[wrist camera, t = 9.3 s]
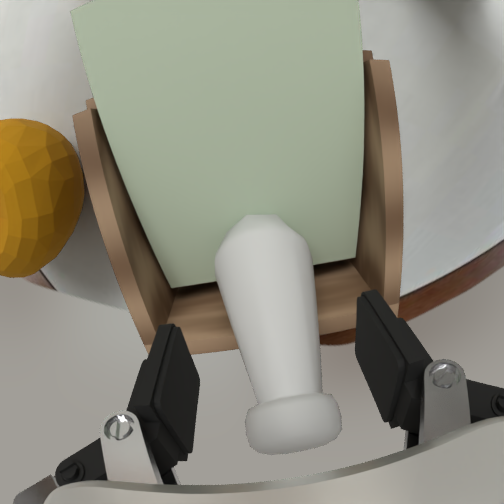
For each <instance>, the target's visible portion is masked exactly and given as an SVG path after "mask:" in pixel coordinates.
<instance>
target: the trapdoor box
mask: <svg viewBox="0 0 504 504" xmlns="http://www.w3.org/2000/svg"><path fill="white" fill-rule="evenodd" d="M363 70H364V155H363V177H362V193H361V206H360V218H359V228H358V238H357V247H356V256H355V258H349V259H344V260H338V261H333V262H327V263H322V264H316V265H313V270H314V280H315V290H316V301H317V313H318V326H319V335H324V334H329V333H333V332H338V331H343V330H347V329H352V328H356V310H357V297H360V296H361V293H362V292H365V291H370V290H374V289H376V290H377V291H378V292H379V293H380V295H381V296H382V297H383V299H384V300H385V301H386V303H387V304H388V305H389V307H390V308H391V310H392V311H393V312H394V314H395V315H396V317H397V316H398V307H399V297H400V286H401V272H402V254H403V176H402V158H401V144H400V133H399V123H398V114H397V106H396V99H395V92H394V86H393V79H392V73H391V68H390V62H389V60H373V56H372V51H368V50H363ZM86 105H87V110H85V111H82V112H80V113H78V114H75V115H73V116H72V117H73V122H74V128H75V133H76V138H77V143H78V148H79V153H80V157H81V162H82V166H83V170H84V174H85V178H86V182H87V186H88V190H89V194H90V198H91V201H92V205H93V208H94V212H95V215H96V219H97V222H98V225H99V228H100V232H101V235H102V238H103V241H104V244H105V247H106V250H107V253H108V256H109V259H110V262H111V265H112V267H113V270H114V273H115V276H116V278H117V281H118V284H119V286H120V289H121V291H122V294H123V297H124V299H125V302H126V304H127V307H128V309H129V311H130V314H131V316H132V319H133V321H134V323H135V325H136V327H137V330H138V332H139V334H140V337H141V339H142V341H143V344H144V346H145V348H146V350H147V352H148V354H149V352H150V349H151V346H152V343H153V340H154V338H155V335H156V332H157V329H158V326H159V325H163V324H172V323H173V324H175V326H176V327H180V328H181V330H182V333H183V336H184V338H185V341H186V344H187V346H188V349H189V352H190V354H191V355H192V354H202V353H210V352H219V351H227V350H234V349H239V347H238V344H237V341H236V338H235V335H234V332H233V329H232V326H231V323H230V320H229V317H228V314H227V311H226V308H225V305H224V302H223V299H222V296H221V293H220V290H219V286H218V283H217V281H214V282H208V283H202V284H195V285H189V286H182V287H176V288H171V287H170V285H169V283H168V280H167V278H166V276H165V274H164V272H163V270H162V268H161V266H160V264H159V262H158V260H157V257H156V255H155V253H154V251H153V249H152V247H151V244H150V242H149V240H148V238H147V236H146V233H145V231H144V229H143V227H142V224H141V222H140V220H139V217H138V215H137V213H136V210H135V208H134V206H133V203H132V201H131V198H130V196H129V193H128V191H127V189H126V186H125V184H124V181H123V179H122V176H121V173H120V171H119V168H118V166H117V163H116V160H115V158H114V155H113V152H112V150H111V147H110V144H109V141H108V139H107V136H106V133H105V130H104V127H103V124H102V121H101V118H100V116H99V113H98V109H97V106H96V103H95V100H94V98H91V99H89V100H86Z"/></svg>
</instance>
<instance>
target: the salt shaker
mask: <svg viewBox="0 0 504 504" xmlns="http://www.w3.org/2000/svg"><path fill="white" fill-rule="evenodd" d="M215 277H216V280H217V283H218V286H219V290H220V293H221V296H222V299H223V302H224V305H225V308H226V311H227V314H228V317H229V320H230V323H231V326H232V329H233V332H234V335H235V338H236V341H237V344H238V347H239V350H240V353H241V355H242V358H243V361H244V364H245V367H246V370H247V373H248V376H249V378H250V381H251V384H252V387H253V390H254V393H255V396H256V399H257V402H258V404H257V405H256V406H254V407H252V408H251V409H249V410H248V412H247V415H246V420H245V425H246V435H247V438H248V442H249V444H250V447H251V448H253V449H254V450H255V451H257V452H259V453H262V454H269V455H275V454H288V453H294V452H299V451H304V450H308V449H312V448H316V447H320V446H323V445H325V444H327V443H329V442H331V441H333V440H334V439H336V438H337V436H338V435H339V433H340V432H341V430H342V425H341V424H342V422H341V413H340V410H339V406H338V404H337V402H336V400H335V399H334V397H333V396H332V394H322V373H321V355H320V340H319V326H318V313H317V301H316V290H315V280H314V270H313V260H312V256H311V253H310V250H309V247H308V244H307V242H306V241H305V239H304V238H303V237H302V236H301V235H299V234H298V233H297V232H295V231H294V230H292V229H291V228H290V227H288V226H287V225H286V224H285V223H284V222H283V221H282V220H281V219H280V218H279V217H278V216H277V215H276V214H268V215H246V216H245V217H243V218H242V219H241V220H240V221H239V222H238V223H237V224H235V225H234V226H233V227H232V228H231V229H230V230H229V231H227V233H226V235H225V237H224V239H223V241H222V243H221V245H220V247H219V249H218V251H217V253H216V256H215Z"/></svg>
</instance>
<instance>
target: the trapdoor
mask: <svg viewBox="0 0 504 504" xmlns="http://www.w3.org/2000/svg"><path fill="white" fill-rule="evenodd" d="M71 16H72V20H73V25H74V29H75V33H76V37H77V41H78V45H79V49H80V53H81V56H82V60H83V63H84V67H85V71H86V74H87V77H88V81H89V84H90V87H91V91H92V94H93V97H94V100H95V103H96V106H97V109H98V113H99V116H100V118H101V121H102V124H103V127H104V130H105V133H106V136H107V139H108V141H109V144H110V147H111V150H112V152H113V155H114V158H115V160H116V163H117V166H118V168H119V171H120V173H121V176H122V179H123V181H124V184H125V186H126V189H127V191H128V193H129V196H130V198H131V201H132V203H133V206H134V208H135V210H136V213H137V215H138V217H139V220H140V222H141V224H142V227H143V229H144V231H145V233H146V236H147V238H148V240H149V242H150V244H151V247H152V249H153V251H154V253H155V255H156V257H157V260H158V262H159V264H160V266H161V268H162V270H163V272H164V274H165V276H166V278H167V280H168V283H169V285H170V287H171V288H176V287H182V286H189V285H195V284H202V283H208V282H214V281H217V280H216V277H215V256H216V253H217V251H218V249H219V247H220V245H221V243H222V241H223V239H224V237H225V235H226V233H227V231H229V230H230V229H231V228H232V227H233V226H234V225H235V224H237V223H238V222H239V221H240V220H241V219H242V218H243V217H245V216H246V215H268V214H276V215H277V216H278V217H279V218H280V219H281V220H282V221H283V222H284V223H285V224H286V225H287V226H288V227H290V228H291V229H292V230H294V231H295V232H297V233H298V234H299V235H301V236H302V237H303V238H304V239H305V241H306V242H307V244H308V247H309V250H310V253H311V256H312V260H313V265H316V264H322V263H327V262H333V261H338V260H344V259H349V258H355V256H356V247H357V238H358V228H359V218H360V206H361V193H362V177H363V155H364V70H363V50H362V35H361V23H360V13H359V3H358V0H94V1H91V2H89V3H87V4H85V5H82V6H80V7H78V8H76V9H74V10H72V11H71Z"/></svg>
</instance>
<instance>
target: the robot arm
mask: <svg viewBox="0 0 504 504" xmlns="http://www.w3.org/2000/svg"><path fill="white" fill-rule="evenodd" d="M355 354H356V358H357V360H358V363H359V365H360V367H361V370H362V372H363V374H364V376H365V379H366V381H367V383H368V386H369V388H370V390H371V393H372V395H373V397H374V400H375V402H376V404H377V407H378V409H379V412H380V414H381V417H382V419H383V421H384V422H389V424H390V427H391V428H395V427H398V426H400V427H401V429H403V430H406V433H405V442H404V450H403V451H400V452H397V453H394V454H391V455H388V456H385V457H382V458H379V459H375V460H372V461H368V462H365V463H361V464H357V465H353V466H349V467H345V468H341V469H337V470H332V471H328V472H323V473H318V474H313V475H307V476H302V477H295V478H289V479H282V480H274V481H266V482H256V483H245V484H229V485H181V484H180V481H179V479H178V476H177V474H176V471H175V469H174V466H175V465H177V462H178V461H187V458H188V453H192V450H193V441H194V432H195V422H196V413H197V404H198V396H199V387H200V378H199V375H198V372H197V370H196V367H195V365H194V362H193V359H192V357H191V354H190V352H189V349H188V346H187V344H186V341H185V338H184V336H183V333H182V330H181V328H180V327H176V326H175V324H173V323H172V324H163V325H159V326H158V329H157V332H156V335H155V338H154V340H153V343H152V346H151V349H150V352H149V355H148V358H147V360H146V359H145V360H144V361H143V363H142V365H141V368H140V371H139V373H138V376H137V380H136V383H135V386H134V389H133V392H132V395H131V398H130V401H129V404H128V408H127V411H118V412H114V413H112V414H110V415H109V416H108V417H106V418H105V419H104V421H103V422H102V424H101V427H100V438H99V439H98V440H96V441H94V442H93V443H91V444H89V445H88V446H86V447H85V448H83V449H81V450H80V451H78V452H76V453H75V454H73V455H72V456H70V457H68V458H67V459H65V460H64V461H62V462H61V463H60V464H59V466H58V467H57V469H56V472H55V476H54V477H53V476H52V475H49V476H47V477H46V478H44V479H42V480H41V481H39V482H37V483H36V484H34V485H32V486H31V487H29V488H27V489H26V490H24V491H22V492H20V493H19V494H18V495H17V496H16V497H15V499H14V502H13V504H504V389H503V388H499V387H495V386H491V385H487V384H483V383H479V382H475V381H471V380H467V379H466V377H465V373H464V370H463V368H462V367H461V366H460V365H459V364H457V363H456V362H454V361H451V360H446V359H442V360H436V361H434V362H433V360H432V359H431V357H430V356H429V354H428V353H427V351H426V350H425V348H424V347H423V346H422V344H421V343H420V341H419V340H418V338H417V337H416V336H415V334H414V333H413V331H412V330H411V328H410V327H409V326H408V324H407V323H406V322H405V320H404V319H403V318H397V317H396V315H395V314H394V312H393V311H392V310H391V308H390V307H389V305H388V304H387V303H386V301H385V300H384V299H383V297H382V296H381V295H380V293H379V292H378V291H377V290H376V289H374V290H370V291H365V292H362V293H361V296H360V297H357V310H356V340H355Z"/></svg>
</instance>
